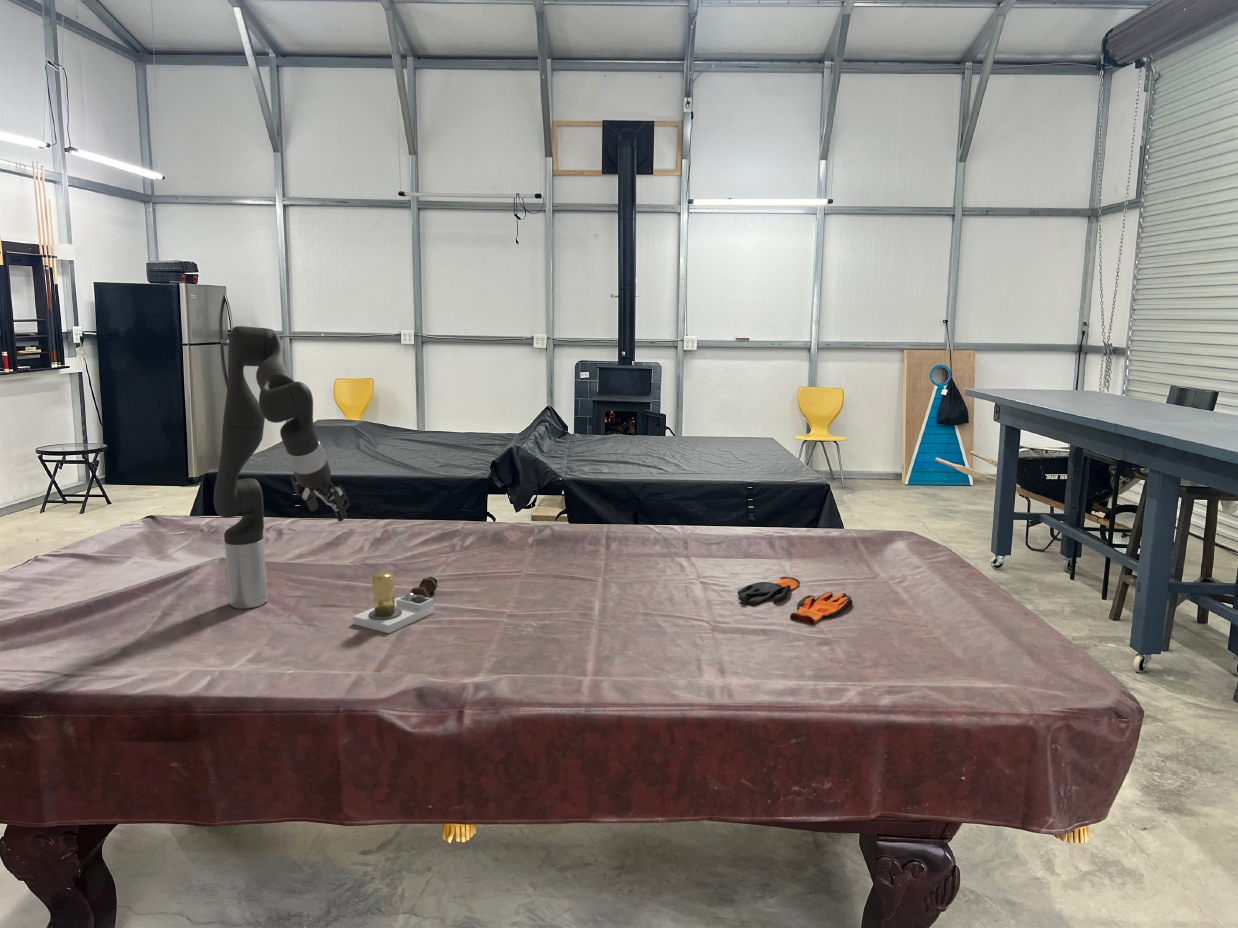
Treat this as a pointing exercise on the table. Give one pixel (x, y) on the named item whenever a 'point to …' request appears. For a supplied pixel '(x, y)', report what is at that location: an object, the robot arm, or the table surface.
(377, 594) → the ball
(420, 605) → the plate
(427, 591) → the bolt
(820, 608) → the pair of gloves
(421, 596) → the rubber ball
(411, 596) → the steel ball
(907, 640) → the table surface
